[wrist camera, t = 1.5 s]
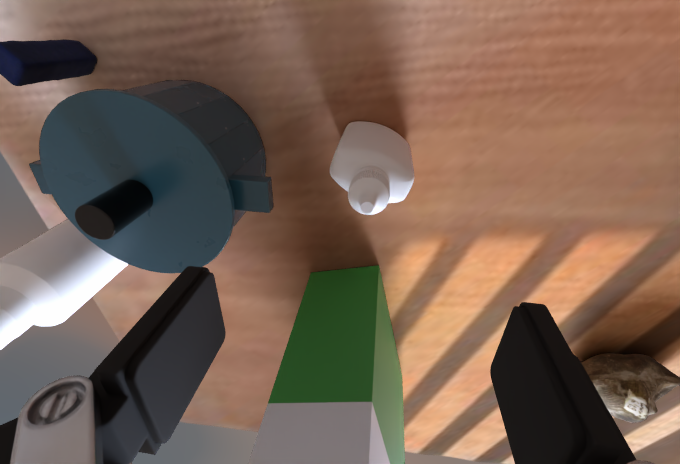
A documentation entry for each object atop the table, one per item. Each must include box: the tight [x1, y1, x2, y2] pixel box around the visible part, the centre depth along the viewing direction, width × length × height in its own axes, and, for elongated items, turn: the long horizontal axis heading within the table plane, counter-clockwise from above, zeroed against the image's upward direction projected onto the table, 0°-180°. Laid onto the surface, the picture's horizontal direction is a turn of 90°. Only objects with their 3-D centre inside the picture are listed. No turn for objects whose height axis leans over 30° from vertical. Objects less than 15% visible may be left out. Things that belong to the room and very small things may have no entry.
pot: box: [29, 80, 274, 227], centre depth 28 cm, size 13×18×8 cm
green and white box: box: [248, 265, 405, 464], centre depth 30 cm, size 18×7×24 cm, turn 13°
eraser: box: [0, 40, 97, 86], centre depth 25 cm, size 2×2×7 cm
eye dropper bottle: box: [330, 121, 414, 215], centre depth 23 cm, size 4×6×12 cm
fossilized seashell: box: [582, 353, 680, 423], centre depth 36 cm, size 8×7×10 cm
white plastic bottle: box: [0, 219, 128, 350], centre depth 29 cm, size 7×7×18 cm
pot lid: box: [39, 89, 235, 273], centre depth 22 cm, size 14×14×5 cm
